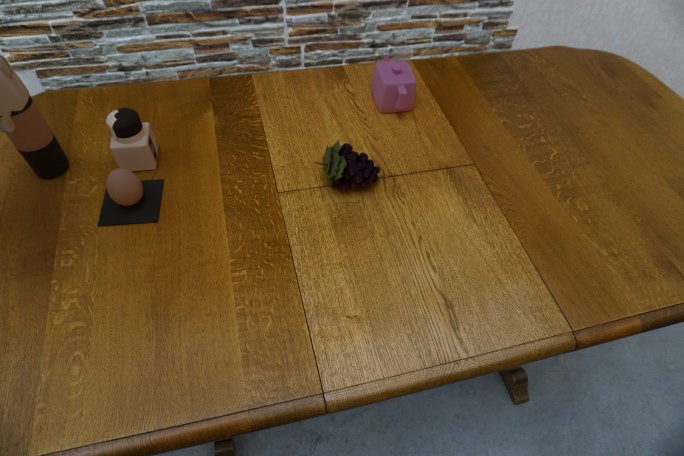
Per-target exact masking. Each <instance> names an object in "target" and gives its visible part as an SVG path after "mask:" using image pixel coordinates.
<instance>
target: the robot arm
mask: <svg viewBox="0 0 684 456" xmlns="http://www.w3.org/2000/svg"><path fill="white" fill-rule="evenodd" d="M29 94H30V91H29V89H28V87H27V86H26V85H25V83H24V82H23V80H22V79H21V77H20V76H19V75H18V74H17V73H16V71H15V70H14V69H13V68H12V66H11V64H10V63H9V61H8V60H7V59H6V57H5V56H4V55H2V54H0V116H2V117H0V132H1V133H5V132H13V131H14V128H15V124H14V123H13V121H12V120H11V118H10V117H11V111H21V110H23V108H24V107H25V105H26V103H27V101H28V99H29Z"/></svg>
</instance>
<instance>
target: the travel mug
mask: <svg viewBox="0 0 684 456" xmlns="http://www.w3.org/2000/svg"><path fill="white" fill-rule="evenodd" d="M0 117H2V116H0ZM10 118H11V120H12V121H13V123H14V124H15V128H14V131H13V132H4V134H5V135H6V136H7V138H8V139H9V141H10V142H11V143H12V145H13V146H14V147H15V149H16V151H17V152H18V153H19V154H20V155H21V157H22V158H23V159H24V161H25V163H26V164H27V165H28V166H29V167H30V168H31V170H32V171H33V172H34V174H35V175H36V176H37V177H38V178H40V179H43V180H51V179H55V178H59V177H61V176H63V175H64V174H65V173H66V172H67V171H68V170H69V168H70V161H69V159H68V156H67V155H66V154H65V152H64V150H63V148H62V146H61V145H60V143H59V141H58V139H57V137H56V135H55V133H54V132H53V130H52V129H51V127H50V125H49V123H48V121H46V119H45V117H44V115H43V113H42V112H41V111H40V109H39V108H38V106H37V104H36V103H35V101H34V99H33V98H32V96H31V94H30V93H29V99H28V101H27V103H26V105H25V107H24V108H23V110H21V111H11V117H10Z"/></svg>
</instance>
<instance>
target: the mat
mask: <svg viewBox="0 0 684 456" xmlns="http://www.w3.org/2000/svg"><path fill="white" fill-rule="evenodd" d="M140 181H141V184H142V187H143V194H142V197H141V199H140V200H139V201H138V202H137V203H136V204H134V205H131V206H124V205H120V204H118V203H116V202H115V201H114V200H113V199H112V198H111V197H110V195H109V193H108V191H107V187H106V186H105V187H106V188H105V192H104V195H103V200H102V204H101V208H100V212H99V217H98V221H97V225H96V226H97V228H98V227H110V226H111V227H113V226H125V225H140V224H154V223H155V224H156V223H159V217H160V212H161V211H160V210H161V203H162V196H163V188H164V183H165V182H164V181H165V179H164V178H161V179H160V178H158V179H143V180H141V179H140Z"/></svg>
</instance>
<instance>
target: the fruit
mask: <svg viewBox="0 0 684 456" xmlns="http://www.w3.org/2000/svg"><path fill="white" fill-rule="evenodd" d="M353 149H354V148H353V146H352V144H350V143H349V142H344V143H343V144H342V145H341V142H340V139H338V140H337V141H335V143H333V145H332V144H331V145H328V144H327V145H326V148H325V149H324V153H323V156H322V161H321V162H322V163H321V162H317V161H314V162H313V163H314V164H318V165H321V166H322V168H321V169H322V171H323V172H324V175H325V180H327V181H328V184H329V186H330V187H333V185H334V187H335V188H336V189H337V190H341V191H342V192H345V191H348V190H349V189H350V187H355V188H356V187H357V188H358V187H359V186H362V187H364V188H365V187H366V186H368V187H369V186H371V185H372V184H373V185H374V184H376V183H378V182H379V176H378V174H380V173H381V167H380V166H378V165H375V161H374V160H373V159H372V158H369V156H368V153H365V152H360V153H358V151H354V150H353ZM332 184H333V185H332Z"/></svg>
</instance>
